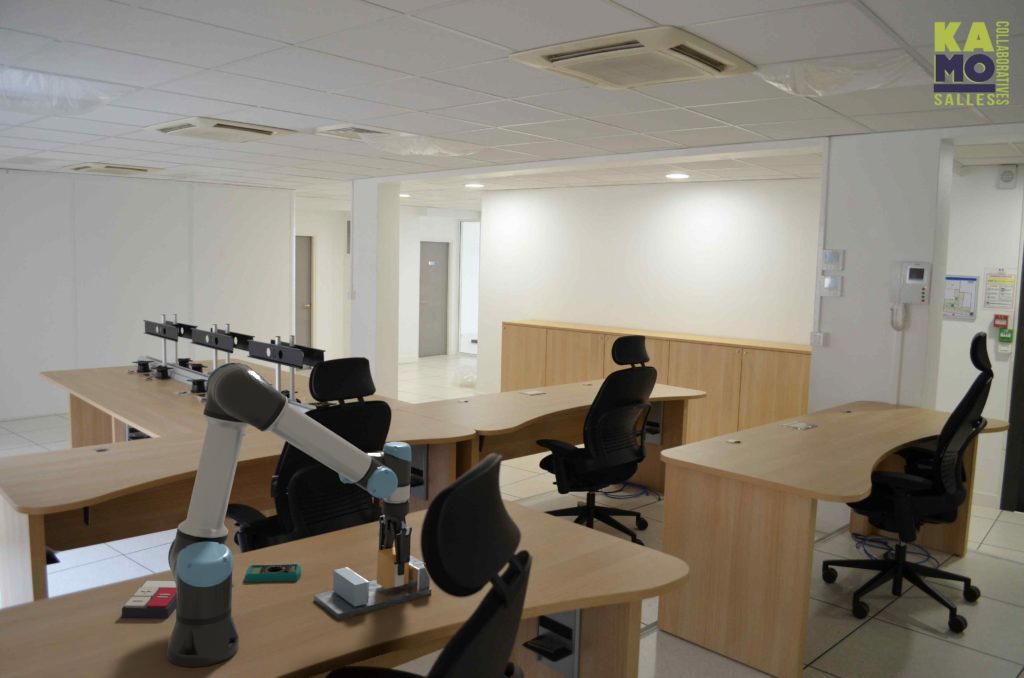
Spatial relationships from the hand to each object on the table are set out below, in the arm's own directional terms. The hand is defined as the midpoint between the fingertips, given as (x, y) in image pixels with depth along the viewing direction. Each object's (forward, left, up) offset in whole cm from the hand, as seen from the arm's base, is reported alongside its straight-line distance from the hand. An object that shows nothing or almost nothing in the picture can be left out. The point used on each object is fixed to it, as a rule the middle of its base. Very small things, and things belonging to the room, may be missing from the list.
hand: (393, 581), depth 208 cm
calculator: (-54, +26, -4) cm, 60 cm away
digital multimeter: (-23, +28, -4) cm, 36 cm away
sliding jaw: (-13, 0, -1) cm, 13 cm away
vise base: (-6, 0, -3) cm, 7 cm away
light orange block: (0, 0, 0) cm, 0 cm away
